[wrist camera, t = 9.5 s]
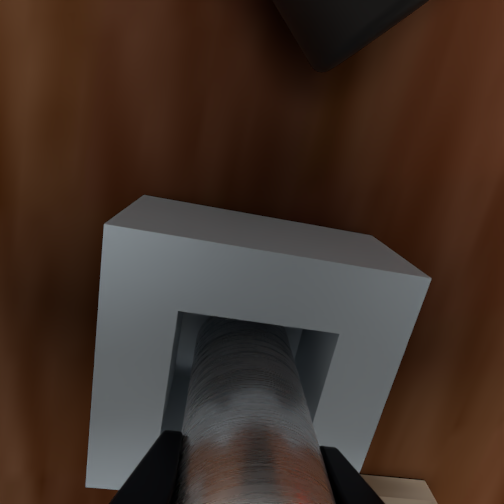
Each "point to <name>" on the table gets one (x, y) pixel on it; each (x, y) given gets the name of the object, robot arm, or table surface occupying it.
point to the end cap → (340, 25)
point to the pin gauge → (247, 422)
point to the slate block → (242, 308)
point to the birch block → (400, 490)
